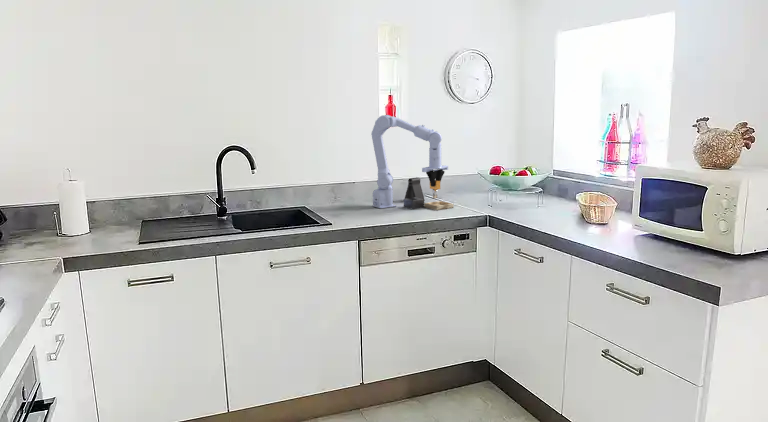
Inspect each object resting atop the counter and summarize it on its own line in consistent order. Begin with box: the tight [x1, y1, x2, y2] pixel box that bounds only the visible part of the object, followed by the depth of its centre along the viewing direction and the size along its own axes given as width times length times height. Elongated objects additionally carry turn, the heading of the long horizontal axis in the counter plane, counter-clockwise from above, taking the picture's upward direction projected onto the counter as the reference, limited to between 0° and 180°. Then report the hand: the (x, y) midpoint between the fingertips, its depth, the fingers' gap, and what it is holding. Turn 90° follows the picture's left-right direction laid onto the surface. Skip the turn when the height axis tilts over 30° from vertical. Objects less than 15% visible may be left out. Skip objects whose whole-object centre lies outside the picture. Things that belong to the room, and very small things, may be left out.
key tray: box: [424, 200, 455, 211], centre depth 277 cm, size 10×10×2 cm
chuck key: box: [429, 179, 441, 199], centre depth 275 cm, size 5×2×8 cm, turn 34°
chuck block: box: [403, 197, 425, 210], centre depth 278 cm, size 7×7×4 cm
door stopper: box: [403, 176, 426, 202], centre depth 294 cm, size 9×6×12 cm, turn 44°
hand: (435, 185), depth 275 cm, fingers closed on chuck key, 2 cm apart
